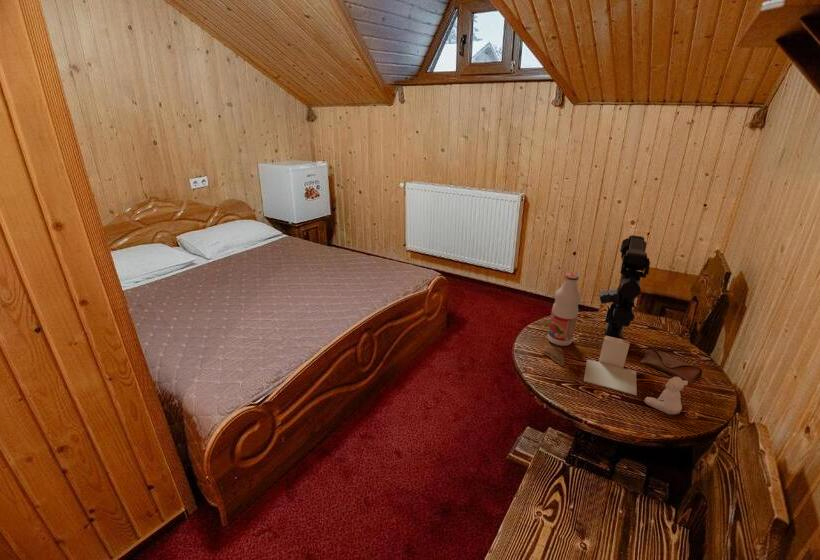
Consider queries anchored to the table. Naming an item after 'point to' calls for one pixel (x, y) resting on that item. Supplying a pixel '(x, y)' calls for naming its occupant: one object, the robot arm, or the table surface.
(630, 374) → the felt mat
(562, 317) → the fruit juice
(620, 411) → the table surface
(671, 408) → the sitting furry creature
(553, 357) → the shard
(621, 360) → the glazed tile
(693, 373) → the sunglasses case
